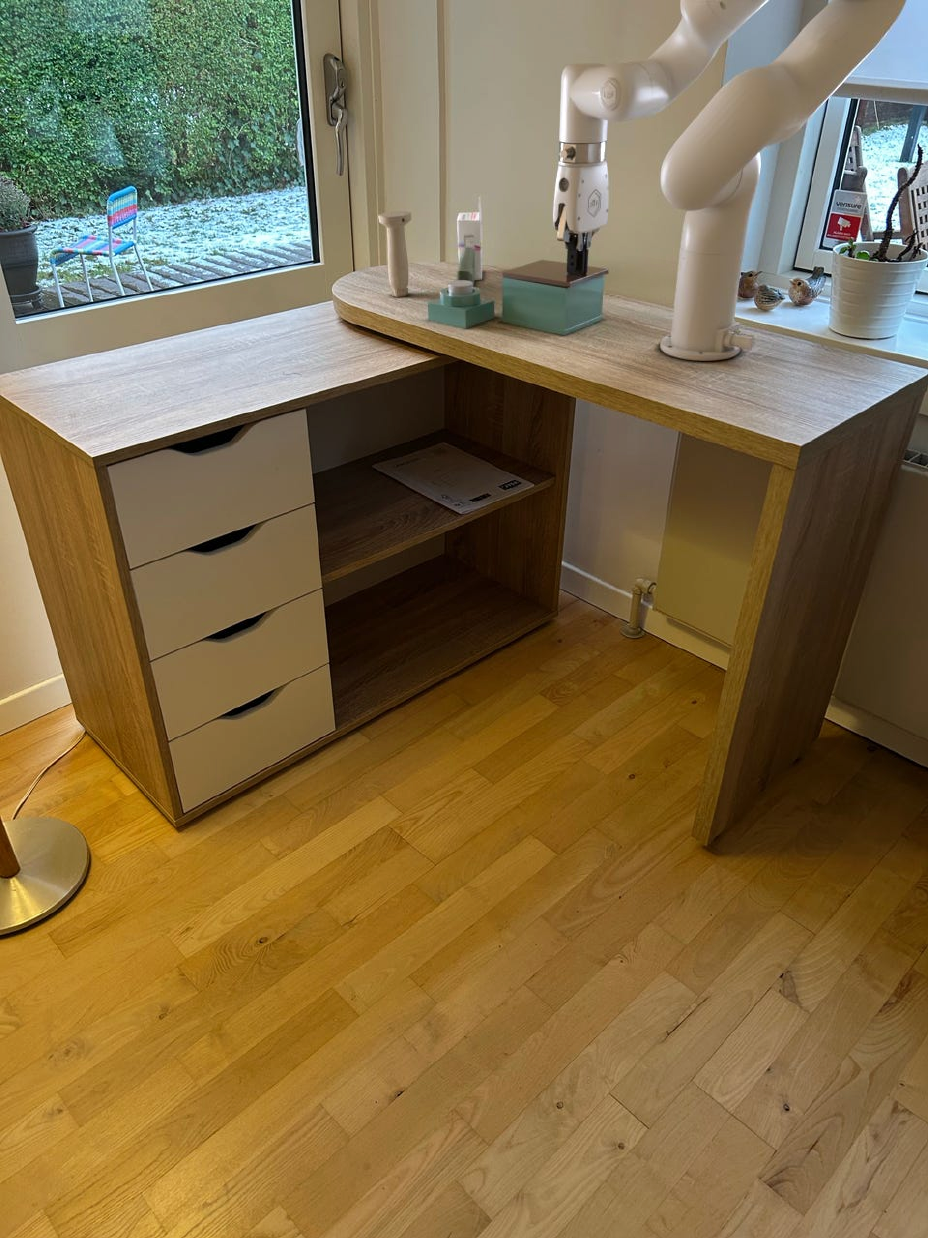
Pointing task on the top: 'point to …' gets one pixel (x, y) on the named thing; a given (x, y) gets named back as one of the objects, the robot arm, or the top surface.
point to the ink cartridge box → (471, 237)
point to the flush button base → (461, 309)
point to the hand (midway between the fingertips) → (576, 273)
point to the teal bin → (552, 304)
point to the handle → (397, 250)
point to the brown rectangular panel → (553, 273)
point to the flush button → (460, 287)
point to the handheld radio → (466, 265)
